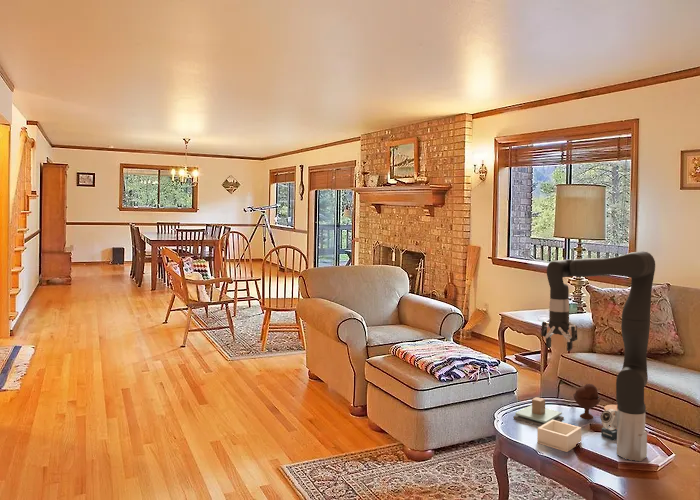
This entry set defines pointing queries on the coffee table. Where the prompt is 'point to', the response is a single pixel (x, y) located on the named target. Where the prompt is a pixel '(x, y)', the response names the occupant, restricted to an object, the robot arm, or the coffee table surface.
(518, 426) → the coffee table surface
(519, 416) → the mat
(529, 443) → the coffee table surface
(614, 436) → the watch
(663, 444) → the coffee table surface
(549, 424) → the cream open storage box
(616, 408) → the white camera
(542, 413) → the lid
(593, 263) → the robot arm
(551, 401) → the coffee table surface
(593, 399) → the ice cream bowl
